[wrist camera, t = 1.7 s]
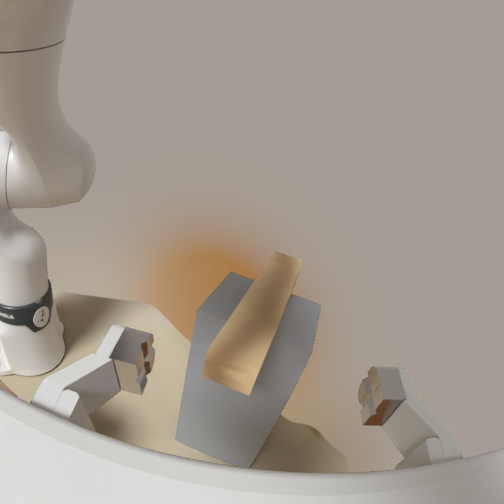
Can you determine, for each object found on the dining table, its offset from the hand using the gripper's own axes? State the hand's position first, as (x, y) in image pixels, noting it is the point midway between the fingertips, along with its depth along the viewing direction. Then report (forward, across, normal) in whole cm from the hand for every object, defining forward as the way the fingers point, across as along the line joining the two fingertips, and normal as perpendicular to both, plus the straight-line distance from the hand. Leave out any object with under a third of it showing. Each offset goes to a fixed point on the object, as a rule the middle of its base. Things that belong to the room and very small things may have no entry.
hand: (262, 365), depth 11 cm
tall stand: (+17, +1, +39) cm, 43 cm away
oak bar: (+18, -1, +13) cm, 22 cm away
